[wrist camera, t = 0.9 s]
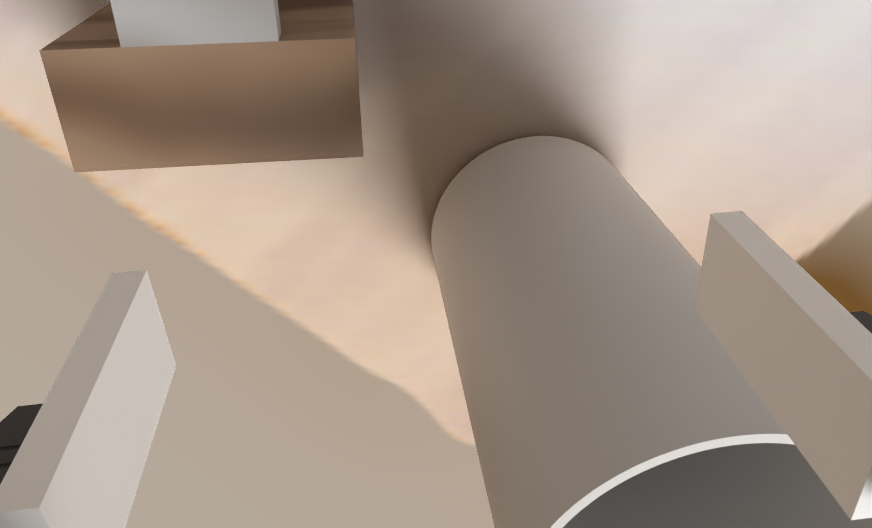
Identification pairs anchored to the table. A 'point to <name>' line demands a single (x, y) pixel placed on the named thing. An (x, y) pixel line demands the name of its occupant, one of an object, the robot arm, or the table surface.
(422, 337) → the table surface
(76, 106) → the shelf
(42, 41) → the table surface
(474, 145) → the table surface
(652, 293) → the cylinder vase
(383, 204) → the table surface
